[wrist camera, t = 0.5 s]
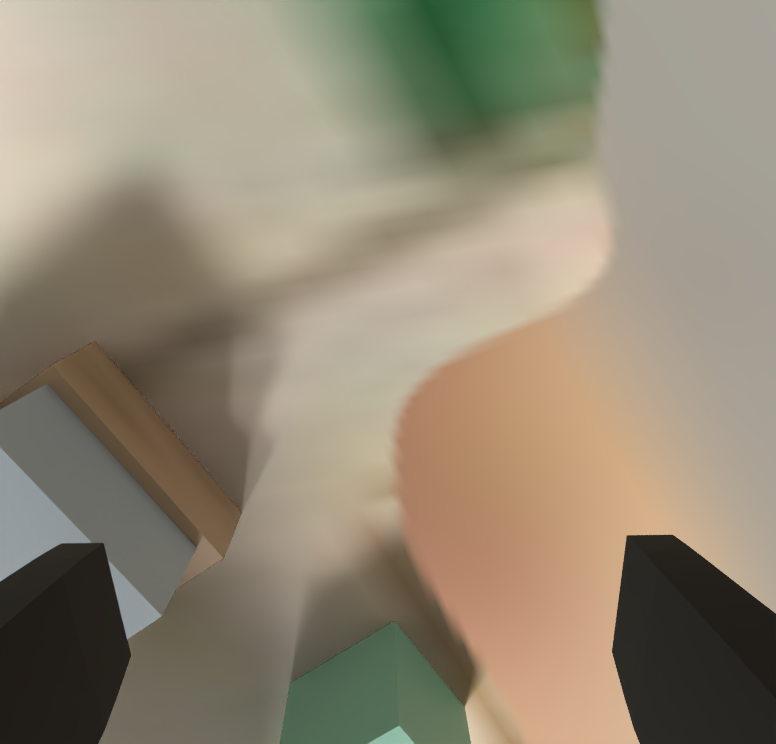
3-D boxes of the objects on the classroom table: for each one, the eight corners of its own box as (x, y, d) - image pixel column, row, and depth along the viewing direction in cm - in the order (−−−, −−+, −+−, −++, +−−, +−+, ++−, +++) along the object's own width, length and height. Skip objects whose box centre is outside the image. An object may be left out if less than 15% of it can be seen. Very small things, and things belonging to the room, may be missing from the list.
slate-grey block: (40, 654, 19) (-21, 738, 16) (-114, 506, 17) (-213, 568, 14) (196, 548, 18) (162, 616, 15) (47, 383, 16) (-24, 423, 13)
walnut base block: (84, 613, 22) (40, 677, 19) (-66, 461, 20) (-140, 507, 17) (244, 507, 21) (223, 558, 18) (100, 338, 19) (51, 364, 16)
